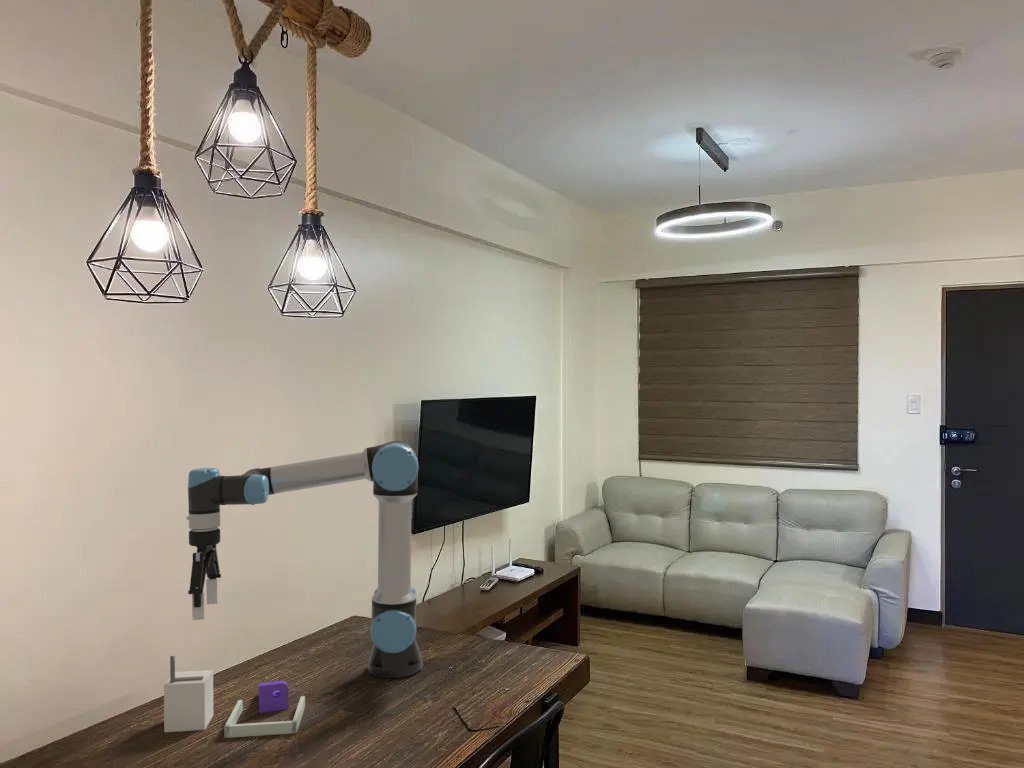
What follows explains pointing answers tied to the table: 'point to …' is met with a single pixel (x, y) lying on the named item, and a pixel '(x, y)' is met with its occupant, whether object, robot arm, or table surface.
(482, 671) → the table surface
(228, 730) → the corral
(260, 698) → the bracket
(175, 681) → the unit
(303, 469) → the robot arm
